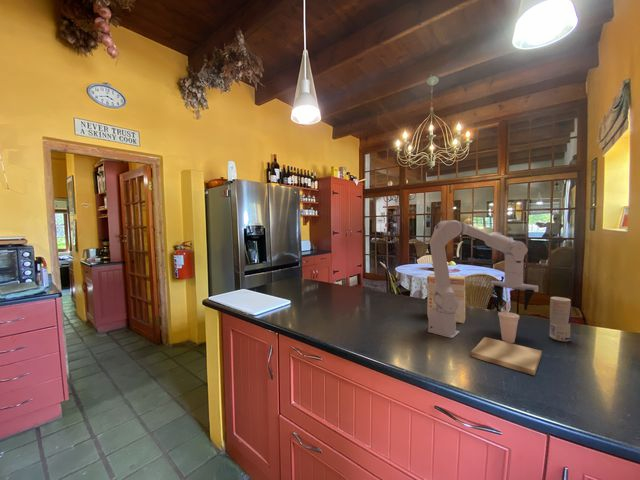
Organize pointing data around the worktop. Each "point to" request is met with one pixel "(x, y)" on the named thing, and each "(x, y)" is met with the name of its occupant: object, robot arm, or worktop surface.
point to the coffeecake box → (459, 292)
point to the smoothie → (508, 325)
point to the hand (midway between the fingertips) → (513, 307)
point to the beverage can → (560, 318)
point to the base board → (508, 355)
